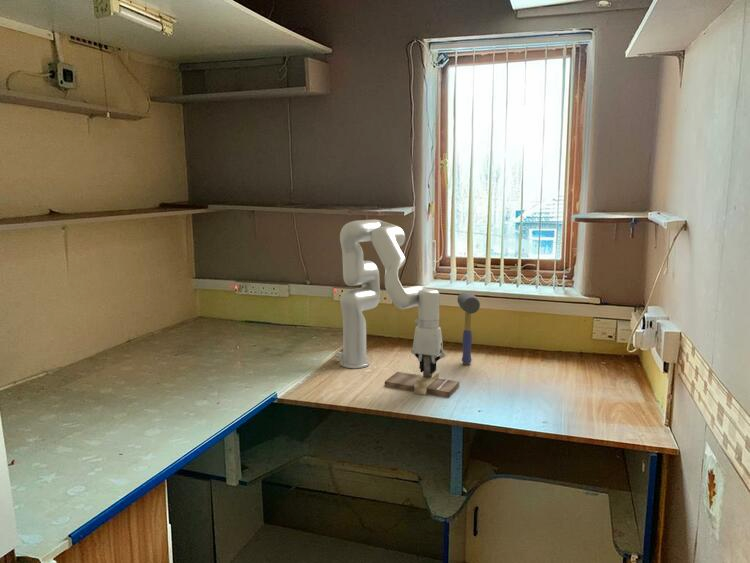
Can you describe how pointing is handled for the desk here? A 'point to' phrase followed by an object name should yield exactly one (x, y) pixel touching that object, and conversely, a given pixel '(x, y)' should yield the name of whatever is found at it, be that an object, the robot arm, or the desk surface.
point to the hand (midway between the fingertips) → (427, 371)
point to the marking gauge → (425, 377)
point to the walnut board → (435, 388)
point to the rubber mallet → (468, 322)
